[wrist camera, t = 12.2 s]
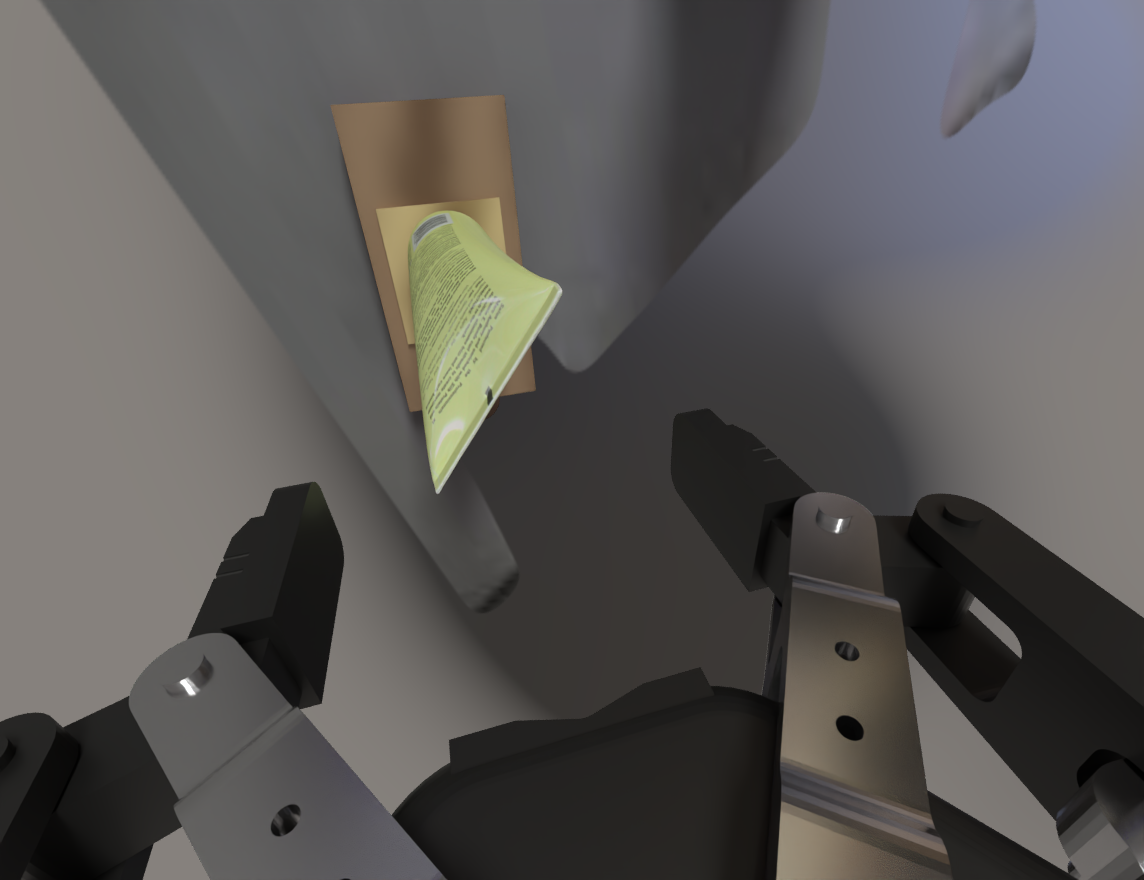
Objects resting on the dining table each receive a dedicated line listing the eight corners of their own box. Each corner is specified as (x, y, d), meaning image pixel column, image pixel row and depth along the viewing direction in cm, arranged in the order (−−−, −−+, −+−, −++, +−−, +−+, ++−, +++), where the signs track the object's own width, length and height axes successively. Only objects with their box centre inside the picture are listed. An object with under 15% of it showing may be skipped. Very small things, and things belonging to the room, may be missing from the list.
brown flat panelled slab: (496, 97, 30) (516, 90, 25) (527, 374, 40) (547, 415, 34) (337, 107, 29) (318, 101, 23) (409, 393, 38) (409, 440, 32)
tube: (501, 295, 33) (587, 458, 17) (422, 312, 32) (434, 498, 16) (481, 200, 30) (564, 288, 14) (393, 216, 29) (373, 328, 13)
